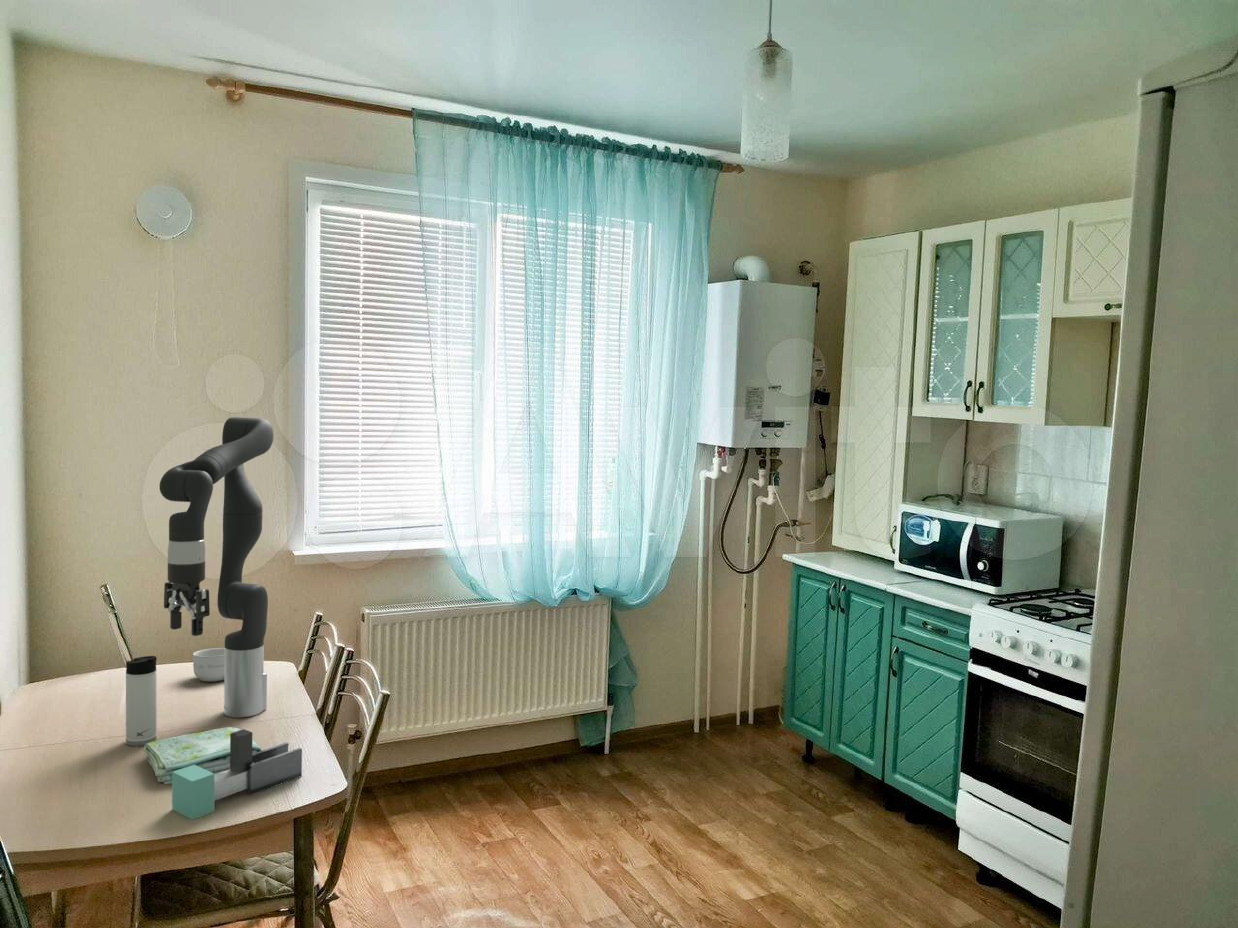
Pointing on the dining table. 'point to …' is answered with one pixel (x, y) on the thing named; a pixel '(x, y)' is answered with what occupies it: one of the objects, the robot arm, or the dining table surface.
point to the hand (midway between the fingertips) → (186, 631)
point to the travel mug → (141, 701)
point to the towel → (192, 752)
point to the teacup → (209, 664)
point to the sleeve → (273, 767)
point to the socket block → (193, 791)
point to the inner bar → (235, 766)
